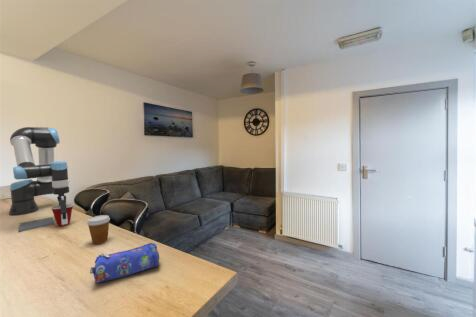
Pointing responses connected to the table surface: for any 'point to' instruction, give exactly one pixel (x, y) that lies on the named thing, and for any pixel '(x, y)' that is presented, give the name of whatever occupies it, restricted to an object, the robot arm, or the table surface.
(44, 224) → the slate tile
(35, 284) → the table surface
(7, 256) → the table surface
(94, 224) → the disposable coffee cup
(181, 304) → the table surface
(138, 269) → the pencil case
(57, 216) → the plastic cup
